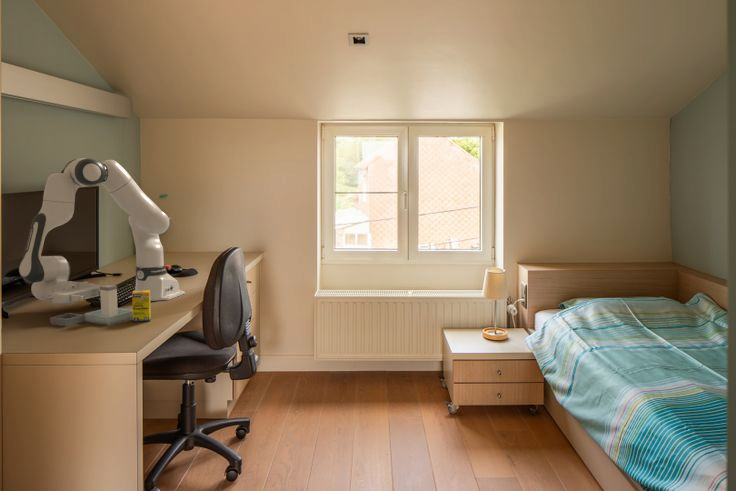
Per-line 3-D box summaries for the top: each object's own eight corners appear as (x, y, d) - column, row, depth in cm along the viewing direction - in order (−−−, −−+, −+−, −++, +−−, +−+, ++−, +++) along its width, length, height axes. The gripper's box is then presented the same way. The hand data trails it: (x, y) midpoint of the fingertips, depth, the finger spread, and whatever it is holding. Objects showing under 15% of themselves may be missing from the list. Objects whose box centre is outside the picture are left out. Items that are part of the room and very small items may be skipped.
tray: (110, 314, 241) (110, 307, 240) (134, 318, 236) (134, 310, 235) (84, 321, 230) (84, 313, 229) (108, 325, 225) (108, 317, 224)
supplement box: (132, 322, 229) (131, 293, 228) (134, 318, 235) (133, 290, 233) (150, 321, 231) (149, 292, 229) (151, 317, 236) (150, 289, 235)
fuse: (110, 315, 235) (108, 284, 234) (118, 317, 234) (117, 285, 232) (101, 318, 232) (99, 286, 230) (109, 319, 230) (108, 287, 228)
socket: (77, 317, 236) (76, 310, 236) (92, 319, 233) (92, 313, 233) (50, 324, 226) (50, 317, 225) (66, 326, 222) (65, 319, 222)
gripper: (43, 289, 230) (70, 292, 225) (88, 280, 249) (114, 283, 243) (44, 306, 231) (70, 309, 226) (89, 295, 250) (114, 299, 244)
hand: (93, 295), depth 235 cm, fingers open, 8 cm apart
